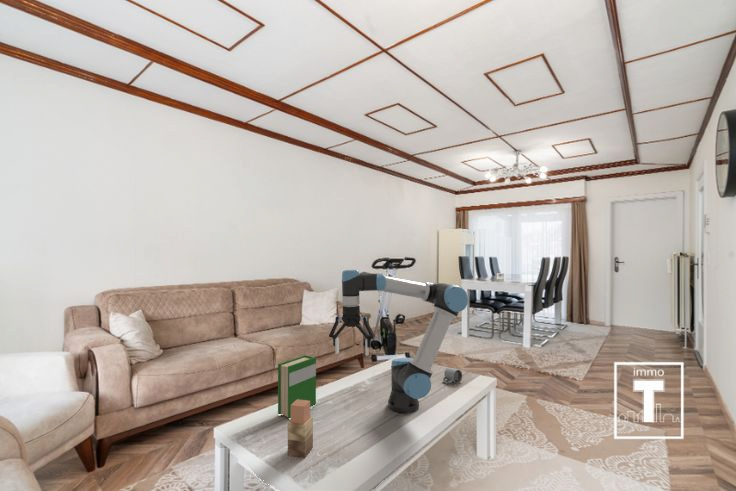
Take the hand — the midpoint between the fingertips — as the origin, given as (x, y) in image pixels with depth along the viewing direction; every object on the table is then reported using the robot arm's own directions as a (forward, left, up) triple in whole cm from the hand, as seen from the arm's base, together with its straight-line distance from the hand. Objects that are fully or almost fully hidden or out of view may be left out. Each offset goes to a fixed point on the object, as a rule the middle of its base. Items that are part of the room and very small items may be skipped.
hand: (352, 354), depth 157 cm
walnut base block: (+13, +24, -31) cm, 42 cm away
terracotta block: (+13, +24, -19) cm, 33 cm away
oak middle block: (+13, +24, -25) cm, 37 cm away
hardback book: (+30, -8, -31) cm, 44 cm away
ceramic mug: (-40, -66, -32) cm, 84 cm away
